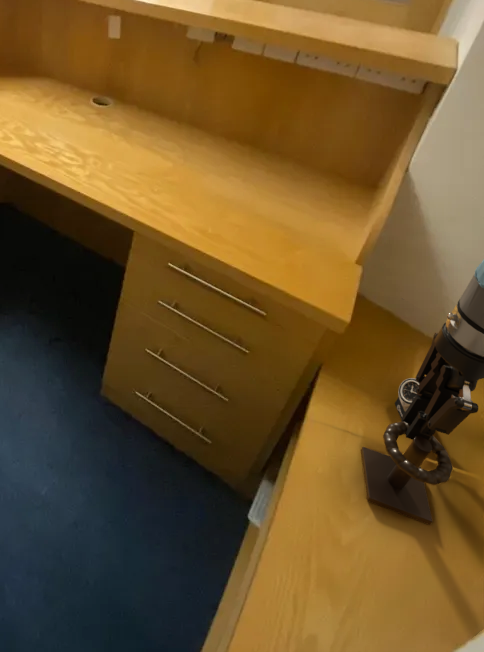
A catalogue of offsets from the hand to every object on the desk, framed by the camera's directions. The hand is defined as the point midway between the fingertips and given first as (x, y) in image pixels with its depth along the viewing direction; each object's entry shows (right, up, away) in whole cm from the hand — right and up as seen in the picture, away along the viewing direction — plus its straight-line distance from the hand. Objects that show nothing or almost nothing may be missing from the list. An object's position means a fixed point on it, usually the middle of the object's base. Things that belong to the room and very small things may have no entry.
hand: (413, 430), depth 85 cm
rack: (-2, -11, +3) cm, 12 cm away
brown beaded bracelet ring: (-1, -2, -3) cm, 4 cm away
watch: (+9, -6, +12) cm, 16 cm away
